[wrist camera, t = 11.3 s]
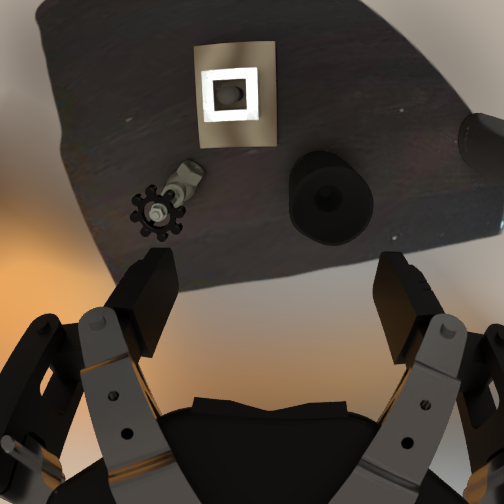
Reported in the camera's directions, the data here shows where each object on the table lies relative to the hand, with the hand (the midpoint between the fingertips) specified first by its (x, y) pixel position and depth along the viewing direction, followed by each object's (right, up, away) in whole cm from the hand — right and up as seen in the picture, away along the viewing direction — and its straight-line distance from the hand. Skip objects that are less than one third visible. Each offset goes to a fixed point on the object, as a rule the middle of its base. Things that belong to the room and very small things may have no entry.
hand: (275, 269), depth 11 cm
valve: (-10, +11, +30) cm, 34 cm away
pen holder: (+9, +11, +28) cm, 32 cm away
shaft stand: (-3, +21, +23) cm, 31 cm away
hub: (-3, +20, +22) cm, 30 cm away
